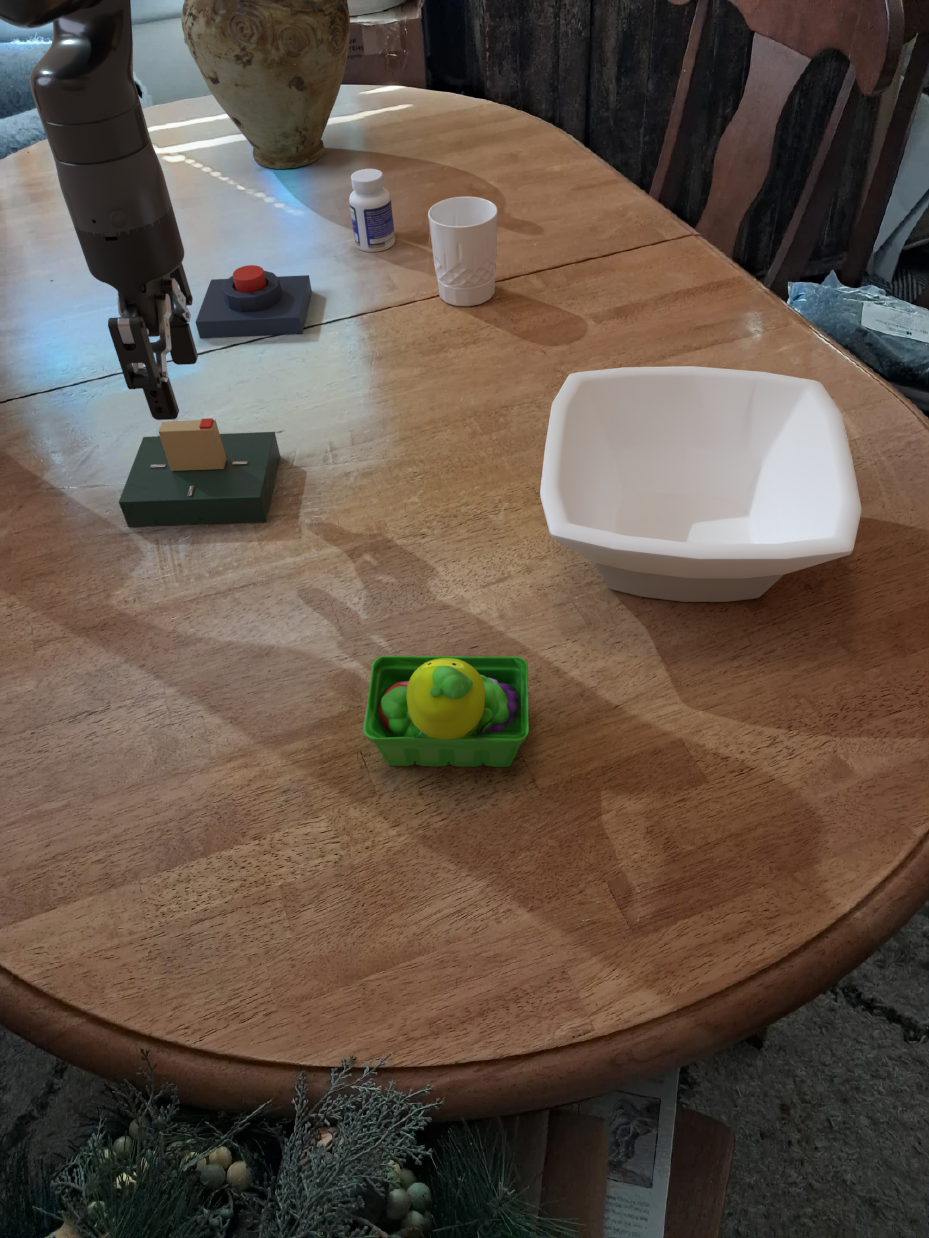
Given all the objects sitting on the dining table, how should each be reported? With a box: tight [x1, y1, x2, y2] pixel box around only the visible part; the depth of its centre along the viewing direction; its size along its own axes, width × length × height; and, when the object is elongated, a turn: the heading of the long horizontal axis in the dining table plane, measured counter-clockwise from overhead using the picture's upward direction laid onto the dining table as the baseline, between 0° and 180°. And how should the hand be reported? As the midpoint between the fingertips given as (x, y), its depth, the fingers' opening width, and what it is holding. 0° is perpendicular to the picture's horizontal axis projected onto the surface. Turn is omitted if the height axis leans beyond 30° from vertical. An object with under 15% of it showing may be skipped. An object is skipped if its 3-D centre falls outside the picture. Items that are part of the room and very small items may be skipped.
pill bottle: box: [348, 168, 396, 253], centre depth 126 cm, size 5×5×9 cm
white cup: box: [427, 195, 498, 307], centre depth 116 cm, size 8×8×10 cm
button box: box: [195, 270, 313, 340], centre depth 117 cm, size 12×10×4 cm
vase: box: [180, 0, 351, 170], centre depth 140 cm, size 23×23×30 cm
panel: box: [118, 431, 281, 528], centre depth 94 cm, size 13×10×3 cm
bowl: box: [539, 365, 863, 603], centre depth 83 cm, size 24×25×10 cm
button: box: [232, 264, 267, 293], centre depth 115 cm, size 4×4×2 cm
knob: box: [158, 417, 226, 471], centre depth 91 cm, size 5×2×5 cm, turn 90°
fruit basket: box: [362, 655, 530, 768], centre depth 69 cm, size 11×9×11 cm
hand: (177, 389), depth 87 cm, fingers open, 8 cm apart
